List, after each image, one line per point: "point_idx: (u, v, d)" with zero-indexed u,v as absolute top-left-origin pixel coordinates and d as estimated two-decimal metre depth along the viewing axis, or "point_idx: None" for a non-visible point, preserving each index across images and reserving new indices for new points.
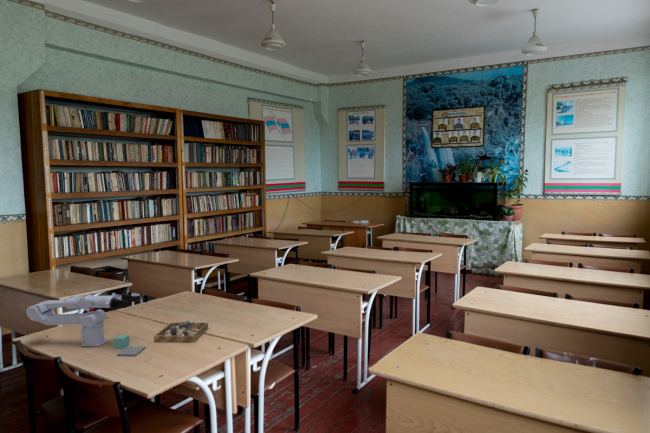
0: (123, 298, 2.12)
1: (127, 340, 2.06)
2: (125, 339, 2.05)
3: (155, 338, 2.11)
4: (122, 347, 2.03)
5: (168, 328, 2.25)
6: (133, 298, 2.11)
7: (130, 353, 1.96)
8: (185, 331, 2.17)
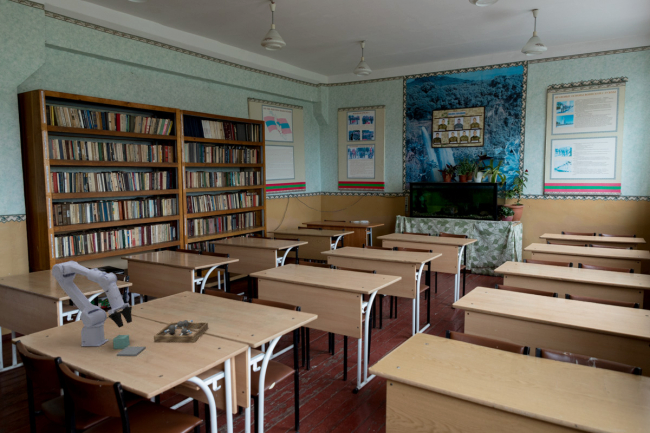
0: (125, 310, 2.09)
1: (127, 340, 2.06)
2: (125, 339, 2.05)
3: (155, 338, 2.11)
4: (122, 347, 2.03)
5: (168, 328, 2.25)
6: (129, 320, 2.09)
7: (130, 353, 1.96)
8: (184, 330, 2.18)
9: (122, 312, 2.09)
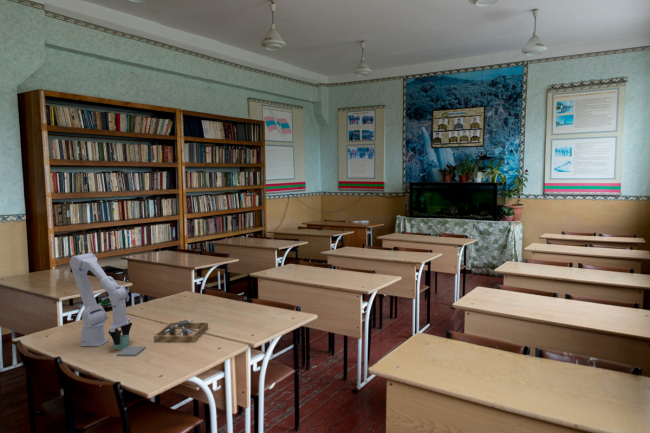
0: (125, 325, 2.09)
1: (127, 340, 2.06)
2: (125, 339, 2.05)
3: (155, 338, 2.11)
4: (122, 347, 2.03)
5: (168, 328, 2.25)
6: None
7: (130, 353, 1.96)
8: (184, 330, 2.18)
9: (121, 326, 2.09)
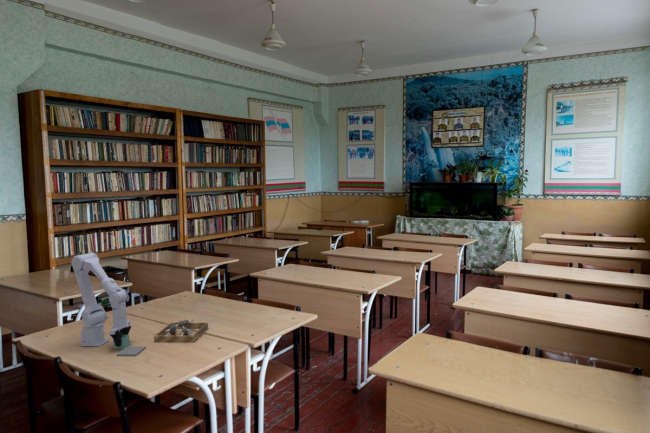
0: (124, 329, 2.08)
1: (127, 340, 2.06)
2: (125, 339, 2.05)
3: (155, 338, 2.11)
4: (122, 347, 2.03)
5: (168, 328, 2.25)
6: None
7: (130, 353, 1.96)
8: (185, 330, 2.19)
9: (120, 329, 2.08)
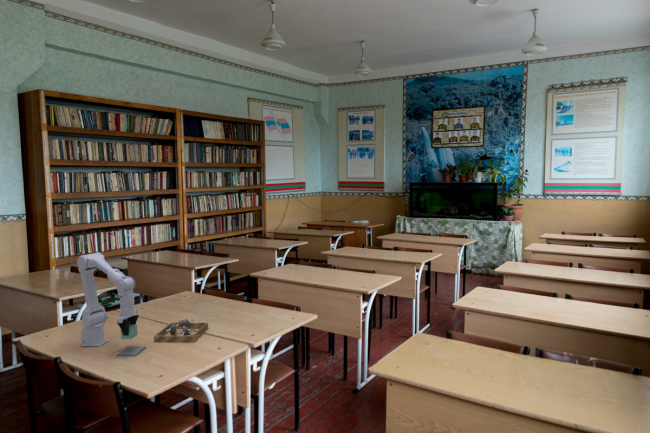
0: (131, 318, 2.02)
1: (135, 330, 2.00)
2: (133, 328, 1.98)
3: (155, 338, 2.11)
4: (130, 337, 1.97)
5: (168, 328, 2.25)
6: None
7: (130, 353, 1.96)
8: (186, 329, 2.19)
9: (128, 318, 2.02)
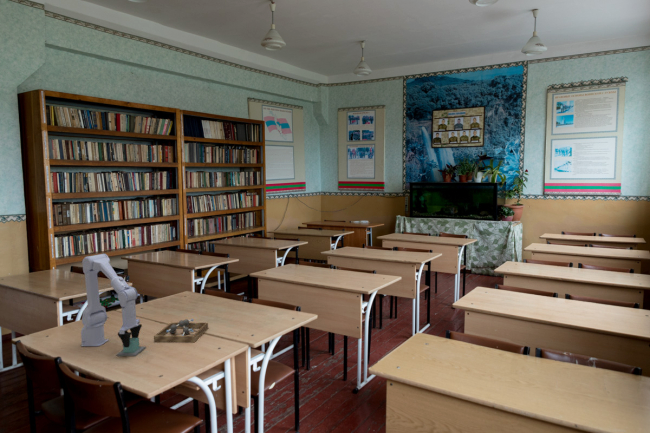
0: (135, 327, 2.02)
1: (137, 343, 2.00)
2: (135, 342, 1.98)
3: (155, 338, 2.11)
4: (132, 350, 1.97)
5: (168, 328, 2.25)
6: None
7: (130, 353, 1.96)
8: (186, 329, 2.19)
9: (131, 328, 2.02)
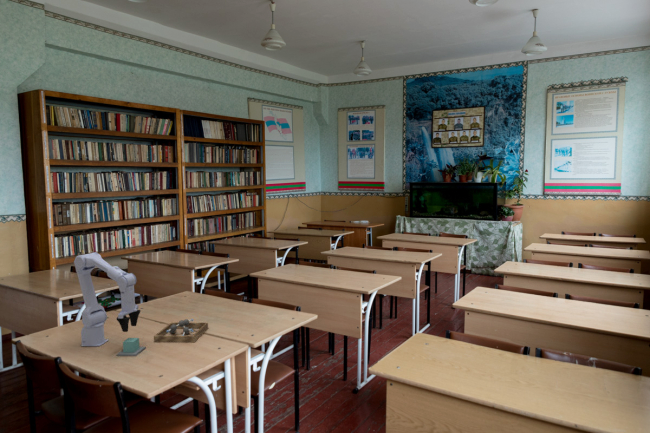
0: (133, 313, 2.05)
1: (137, 343, 2.00)
2: (135, 342, 1.98)
3: (155, 338, 2.11)
4: (132, 350, 1.97)
5: (168, 328, 2.25)
6: (134, 323, 2.05)
7: (130, 353, 1.96)
8: (186, 329, 2.20)
9: (130, 313, 2.05)
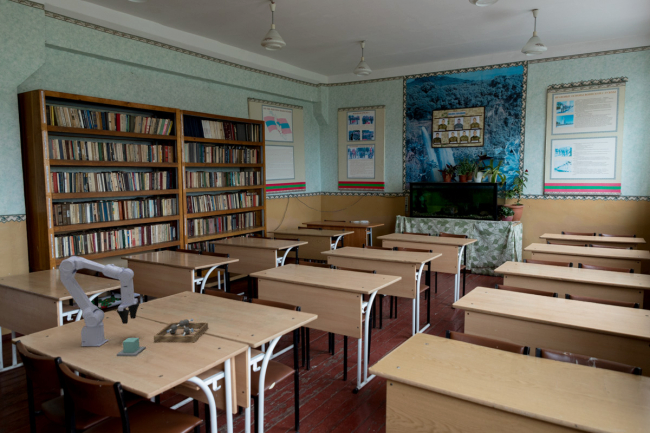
0: (133, 306, 2.16)
1: (137, 343, 2.00)
2: (135, 342, 1.98)
3: (155, 338, 2.11)
4: (132, 350, 1.97)
5: (168, 328, 2.25)
6: (133, 316, 2.16)
7: (130, 353, 1.96)
8: (187, 329, 2.20)
9: (129, 307, 2.16)
